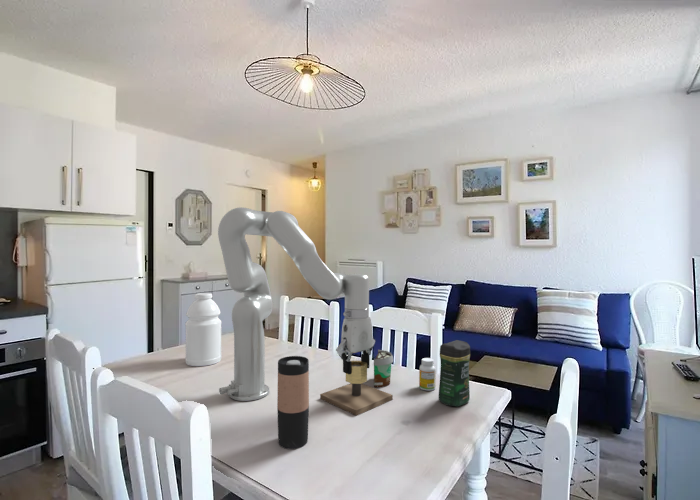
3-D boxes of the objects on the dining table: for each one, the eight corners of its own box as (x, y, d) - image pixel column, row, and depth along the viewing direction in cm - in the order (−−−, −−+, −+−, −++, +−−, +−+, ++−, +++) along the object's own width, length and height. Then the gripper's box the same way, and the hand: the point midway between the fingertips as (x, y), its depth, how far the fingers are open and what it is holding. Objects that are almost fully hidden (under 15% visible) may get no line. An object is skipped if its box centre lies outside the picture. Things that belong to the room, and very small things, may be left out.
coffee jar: (457, 410, 110) (457, 347, 110) (434, 401, 116) (435, 341, 115) (474, 401, 116) (474, 341, 116) (451, 393, 122) (452, 336, 122)
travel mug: (279, 434, 95) (279, 356, 95) (309, 432, 96) (309, 355, 96) (275, 450, 88) (275, 365, 88) (308, 449, 88) (308, 365, 88)
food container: (391, 390, 124) (391, 360, 124) (373, 388, 126) (373, 359, 126) (394, 377, 137) (395, 350, 136) (378, 376, 138) (378, 349, 138)
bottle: (208, 354, 164) (208, 290, 164) (228, 360, 156) (228, 293, 156) (178, 362, 153) (178, 294, 152) (197, 369, 144) (197, 297, 144)
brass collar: (356, 385, 112) (356, 368, 112) (341, 379, 117) (341, 363, 117) (371, 379, 117) (371, 364, 117) (356, 374, 122) (356, 359, 122)
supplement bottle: (423, 383, 130) (423, 356, 130) (438, 387, 127) (438, 358, 127) (416, 388, 126) (416, 360, 126) (431, 392, 123) (431, 363, 123)
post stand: (356, 415, 106) (356, 378, 106) (320, 398, 117) (320, 365, 117) (392, 399, 117) (392, 366, 117) (356, 385, 128) (356, 355, 128)
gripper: (344, 319, 108) (344, 380, 108) (384, 311, 120) (383, 366, 120) (327, 315, 113) (327, 373, 114) (367, 308, 126) (366, 361, 126)
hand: (356, 369), depth 117 cm, fingers open, 7 cm apart
